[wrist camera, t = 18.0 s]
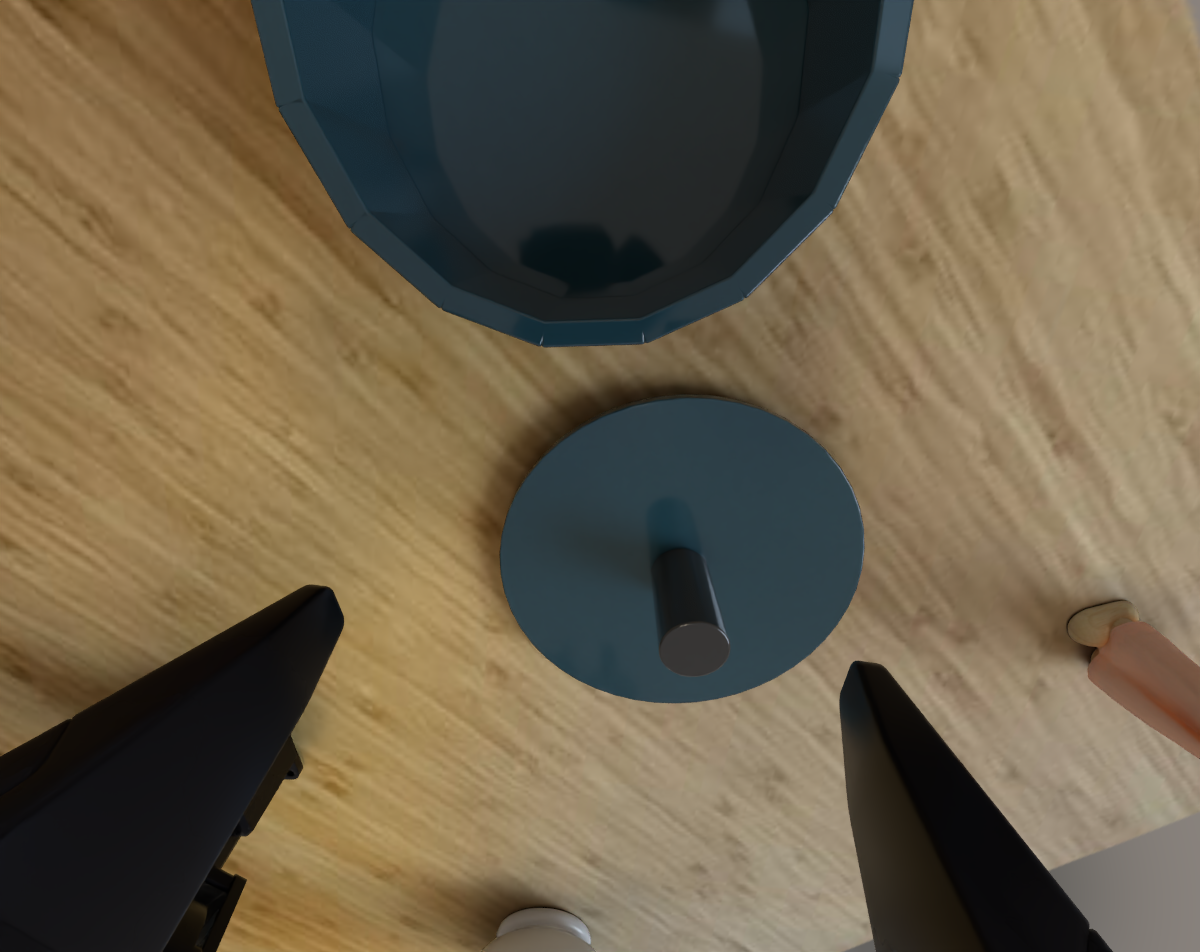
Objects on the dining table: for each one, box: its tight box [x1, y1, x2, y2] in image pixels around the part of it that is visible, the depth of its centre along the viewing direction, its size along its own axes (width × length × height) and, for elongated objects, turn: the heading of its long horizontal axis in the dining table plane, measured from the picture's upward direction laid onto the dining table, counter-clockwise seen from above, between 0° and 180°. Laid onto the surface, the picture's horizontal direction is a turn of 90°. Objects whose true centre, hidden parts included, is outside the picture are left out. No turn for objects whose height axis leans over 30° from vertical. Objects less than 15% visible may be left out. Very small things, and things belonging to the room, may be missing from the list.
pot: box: [251, 0, 914, 347], centre depth 14 cm, size 14×14×5 cm
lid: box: [500, 394, 865, 703], centre depth 20 cm, size 15×15×6 cm
